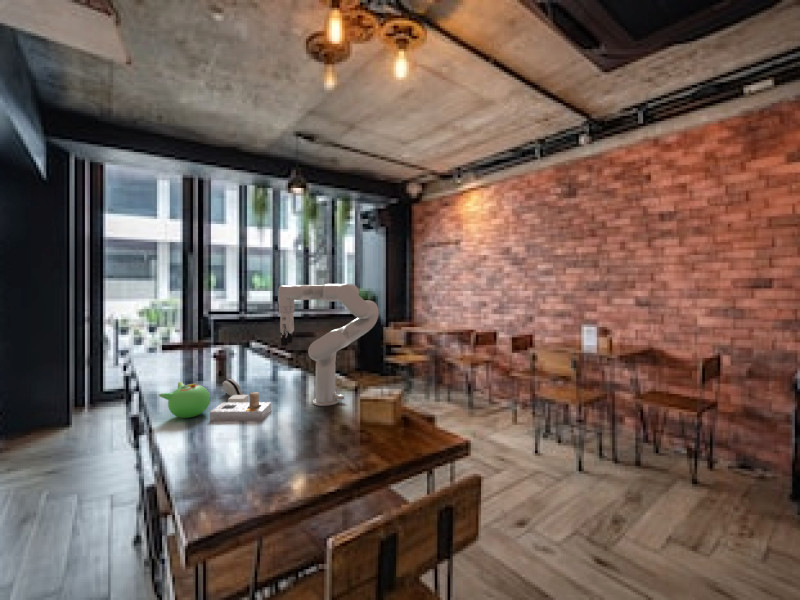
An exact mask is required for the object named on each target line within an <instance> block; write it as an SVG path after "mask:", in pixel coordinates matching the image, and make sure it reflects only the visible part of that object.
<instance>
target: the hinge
mask: <svg viewBox="0 0 800 600" xmlns="http://www.w3.org/2000/svg"><path fill="white" fill-rule="evenodd" d="M222 386H223V389H224V392H225V394H226V393H227V395H228V396H229V397H231V396H233V395H246V394H244V392H243V391H242V389H241V387H240V385H239V384H238V382H237V381H235V380H234V379H233V378H229V379H227V380H224V381H223V382H222Z"/></svg>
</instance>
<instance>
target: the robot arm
mask: <svg viewBox="0 0 800 600" xmlns="http://www.w3.org/2000/svg"><path fill="white" fill-rule="evenodd" d="M308 300H310V301H314V300H316V301H317V300H321V301H325V302H340V304H342V305H343V306H344V307H345V309H347V310H348V311H349V312H350V313H351V314H352V315H353V316H354V317H356V318H355V319H353V320H351V321H350V322H348V323H347V324H345V325H344V326H342V327H339V328H335V329H333V330H330V331H328V332H326V334H324V335H321V337H319V338H318V339H315V340H314V341H313V342H312V343H311V344H310V345H309V347H308V351H307V352H308V353H307V354H308V356H309V358H310V359H311V360H312V361H315V398H314V399H313V400H312V404H313V405H314V406H319V407H330V406H333V405H337V404H338V403H339V400H345V395H343V394H337V391H336V361H337V360H336V359H337V352H338V351H339V350H341V349H344V348H346V347H348V346H349V345H350V344H352V343H353V342H355V341H357V339H359V338H361V337H362V336H364V335H365V334H367V333H369V331H371V329H373V328H374V327H375V325H376V323H377V322H378V318H379V308H378V307H379V306H378V304H377V303H376V302H375V301H373V300H369V299H367V300H365V299H363V297H361V295H360V291H359V288H358V286H357V285H355V284H353V283H324V284H319V285H318V284H296V285H291V284H290V285H284V284H283V285H280V286H279V287H278V314H280V320H279V327H280V346H281V347H284V346H285V347H287V346H288V344H292V343H293V332H295V323H294V319H295V318H294V314H295V301H308Z"/></svg>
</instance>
